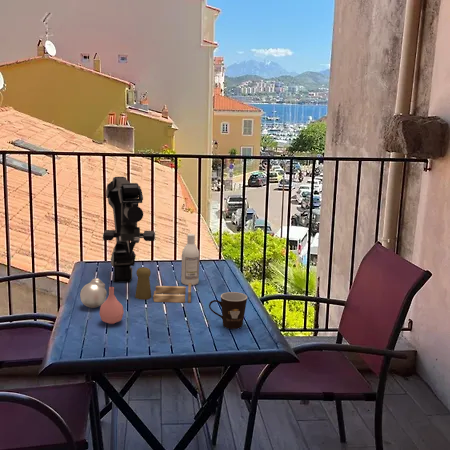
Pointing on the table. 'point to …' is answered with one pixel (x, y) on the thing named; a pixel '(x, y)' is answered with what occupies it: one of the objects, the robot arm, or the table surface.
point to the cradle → (171, 294)
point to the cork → (143, 284)
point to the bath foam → (190, 262)
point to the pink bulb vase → (111, 309)
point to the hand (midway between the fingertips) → (129, 257)
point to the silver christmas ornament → (93, 293)
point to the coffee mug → (232, 309)
